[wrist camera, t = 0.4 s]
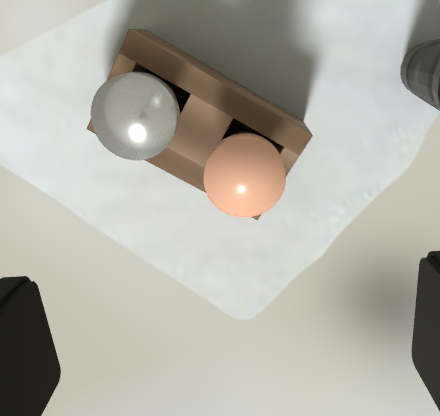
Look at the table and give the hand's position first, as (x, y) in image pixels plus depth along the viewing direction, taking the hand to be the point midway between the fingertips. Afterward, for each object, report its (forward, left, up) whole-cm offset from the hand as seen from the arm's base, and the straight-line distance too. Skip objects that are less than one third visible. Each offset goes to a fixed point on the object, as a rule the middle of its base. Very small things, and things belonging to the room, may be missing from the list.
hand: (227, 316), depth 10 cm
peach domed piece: (+3, +2, -28) cm, 29 cm away
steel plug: (+3, -7, -28) cm, 29 cm away
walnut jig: (+3, -2, -33) cm, 33 cm away
